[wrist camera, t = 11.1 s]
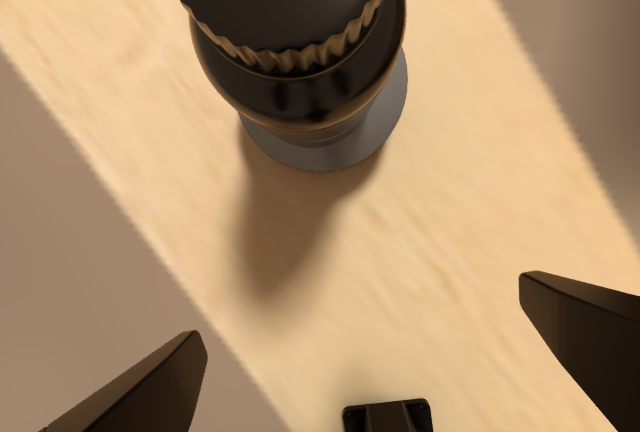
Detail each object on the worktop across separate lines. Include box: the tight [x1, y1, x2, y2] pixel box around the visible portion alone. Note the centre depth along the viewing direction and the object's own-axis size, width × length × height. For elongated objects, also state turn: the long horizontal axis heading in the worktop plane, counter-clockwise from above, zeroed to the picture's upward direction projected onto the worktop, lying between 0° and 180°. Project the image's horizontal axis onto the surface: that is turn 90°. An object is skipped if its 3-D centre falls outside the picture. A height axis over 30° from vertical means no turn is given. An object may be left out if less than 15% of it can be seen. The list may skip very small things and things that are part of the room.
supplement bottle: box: [180, 0, 407, 148], centre depth 12 cm, size 7×7×12 cm
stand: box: [238, 47, 408, 172], centre depth 19 cm, size 10×10×3 cm
